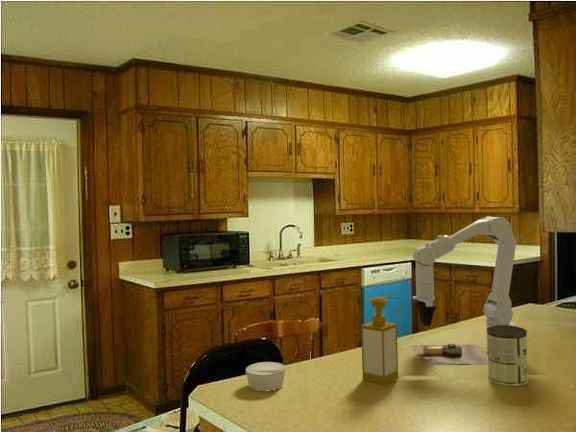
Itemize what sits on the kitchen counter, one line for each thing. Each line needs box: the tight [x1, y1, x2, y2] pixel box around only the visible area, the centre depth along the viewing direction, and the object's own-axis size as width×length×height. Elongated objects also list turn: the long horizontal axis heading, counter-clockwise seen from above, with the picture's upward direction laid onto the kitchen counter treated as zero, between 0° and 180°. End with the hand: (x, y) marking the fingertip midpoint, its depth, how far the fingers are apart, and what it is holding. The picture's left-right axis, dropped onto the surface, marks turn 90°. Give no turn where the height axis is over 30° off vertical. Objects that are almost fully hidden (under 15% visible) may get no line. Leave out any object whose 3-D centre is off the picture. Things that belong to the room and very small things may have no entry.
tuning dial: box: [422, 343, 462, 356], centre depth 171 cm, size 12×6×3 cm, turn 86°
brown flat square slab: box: [411, 343, 488, 366], centre depth 171 cm, size 22×22×1 cm
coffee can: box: [486, 326, 529, 387], centre depth 148 cm, size 10×10×14 cm
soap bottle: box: [360, 296, 399, 386], centre depth 155 cm, size 7×13×24 cm, turn 137°
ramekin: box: [245, 361, 286, 392], centre depth 150 cm, size 11×11×5 cm
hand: (425, 324), depth 177 cm, fingers open, 4 cm apart
